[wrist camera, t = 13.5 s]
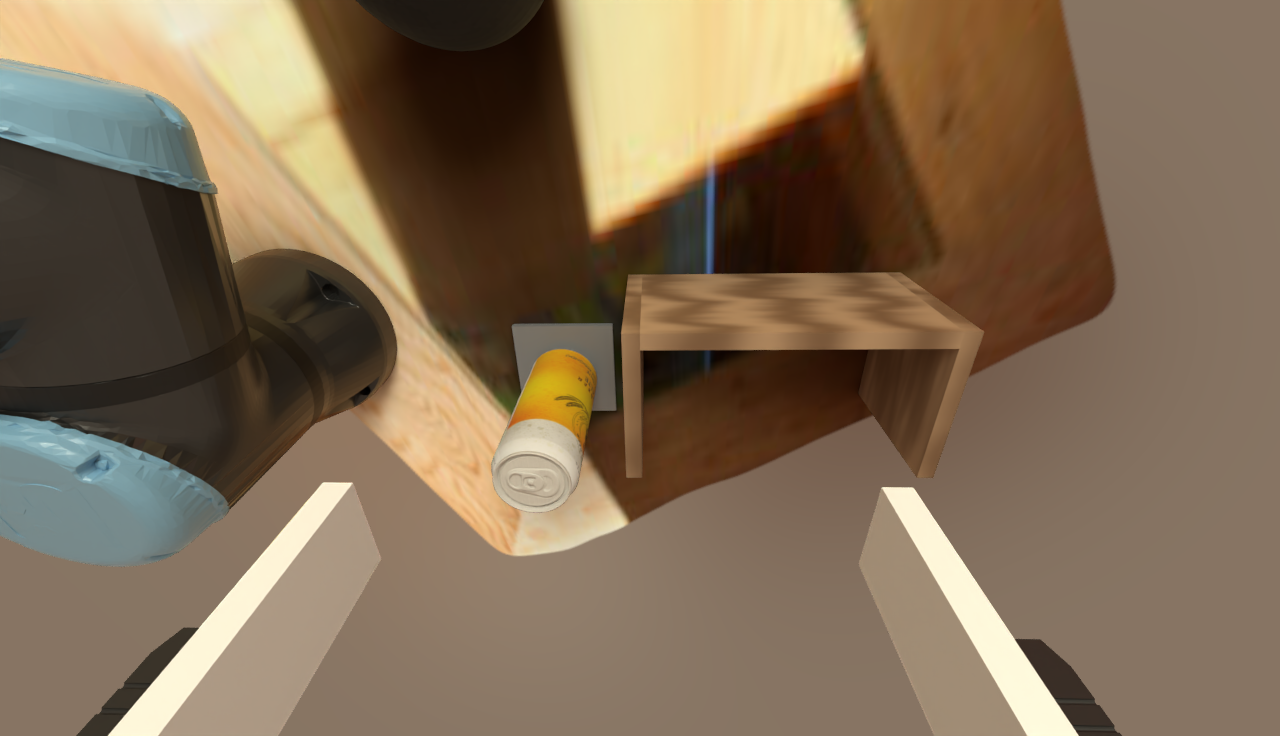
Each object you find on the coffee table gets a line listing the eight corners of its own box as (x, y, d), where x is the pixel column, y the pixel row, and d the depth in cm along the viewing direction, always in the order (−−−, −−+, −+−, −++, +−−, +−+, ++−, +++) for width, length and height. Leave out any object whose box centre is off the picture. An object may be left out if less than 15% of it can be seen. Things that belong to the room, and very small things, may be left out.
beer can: (594, 404, 48) (573, 521, 35) (532, 397, 48) (487, 512, 35) (600, 349, 45) (580, 454, 32) (534, 340, 45) (485, 443, 32)
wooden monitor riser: (631, 394, 48) (626, 477, 38) (628, 274, 42) (621, 333, 32) (870, 393, 48) (933, 477, 37) (900, 272, 42) (984, 331, 31)
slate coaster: (525, 407, 49) (524, 410, 49) (513, 323, 45) (511, 326, 44) (616, 407, 49) (616, 410, 48) (612, 323, 45) (612, 326, 44)
